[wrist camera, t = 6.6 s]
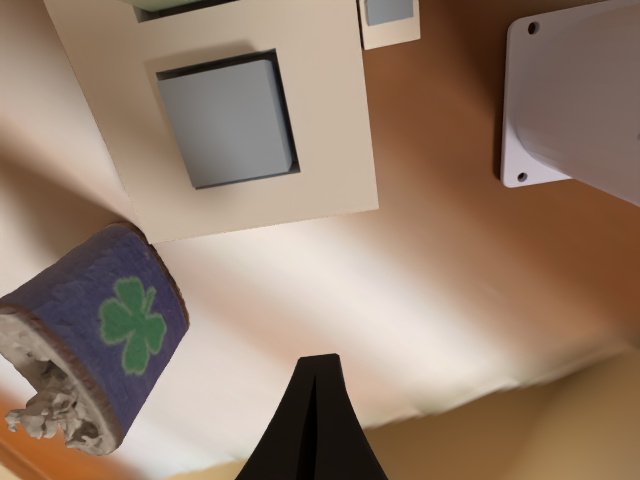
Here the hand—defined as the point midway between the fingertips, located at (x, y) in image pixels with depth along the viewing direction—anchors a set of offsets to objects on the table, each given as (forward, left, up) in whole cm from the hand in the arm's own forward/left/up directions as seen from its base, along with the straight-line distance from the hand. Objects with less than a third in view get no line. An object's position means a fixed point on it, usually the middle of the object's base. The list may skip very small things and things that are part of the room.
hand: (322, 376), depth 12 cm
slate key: (+3, -8, -9) cm, 12 cm away
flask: (+12, +1, -11) cm, 16 cm away
